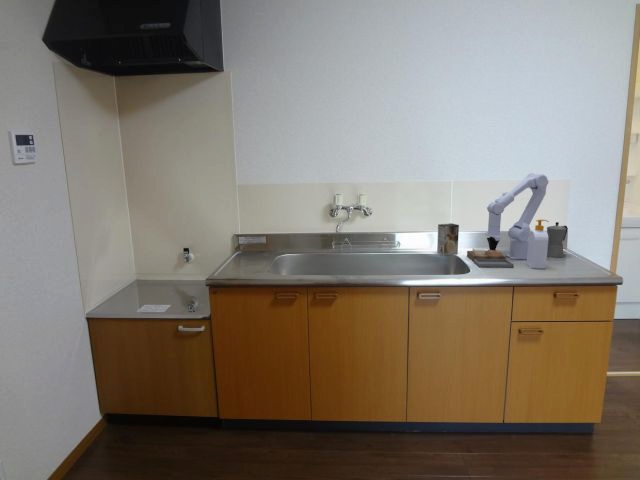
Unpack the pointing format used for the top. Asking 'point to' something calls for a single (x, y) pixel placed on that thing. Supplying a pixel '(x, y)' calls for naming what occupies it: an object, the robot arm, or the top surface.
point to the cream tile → (478, 251)
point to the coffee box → (447, 239)
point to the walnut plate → (483, 256)
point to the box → (493, 263)
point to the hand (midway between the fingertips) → (492, 251)
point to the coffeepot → (556, 240)
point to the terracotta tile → (494, 252)
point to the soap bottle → (537, 247)
